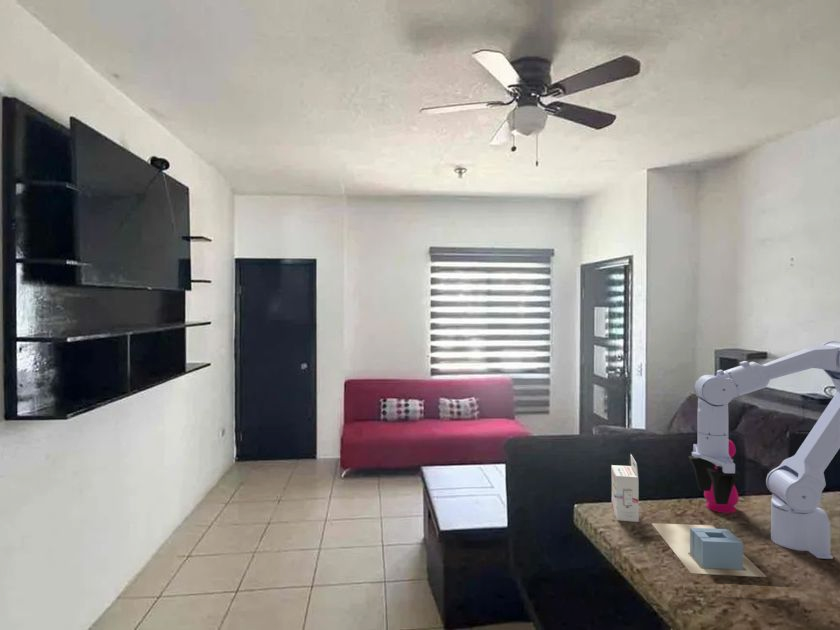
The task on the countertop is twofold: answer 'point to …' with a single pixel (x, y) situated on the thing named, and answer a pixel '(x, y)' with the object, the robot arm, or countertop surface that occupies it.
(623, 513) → the ink cartridge box
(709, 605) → the countertop surface
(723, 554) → the block
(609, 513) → the countertop surface
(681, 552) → the base plate
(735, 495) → the pepper mill
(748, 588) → the countertop surface
